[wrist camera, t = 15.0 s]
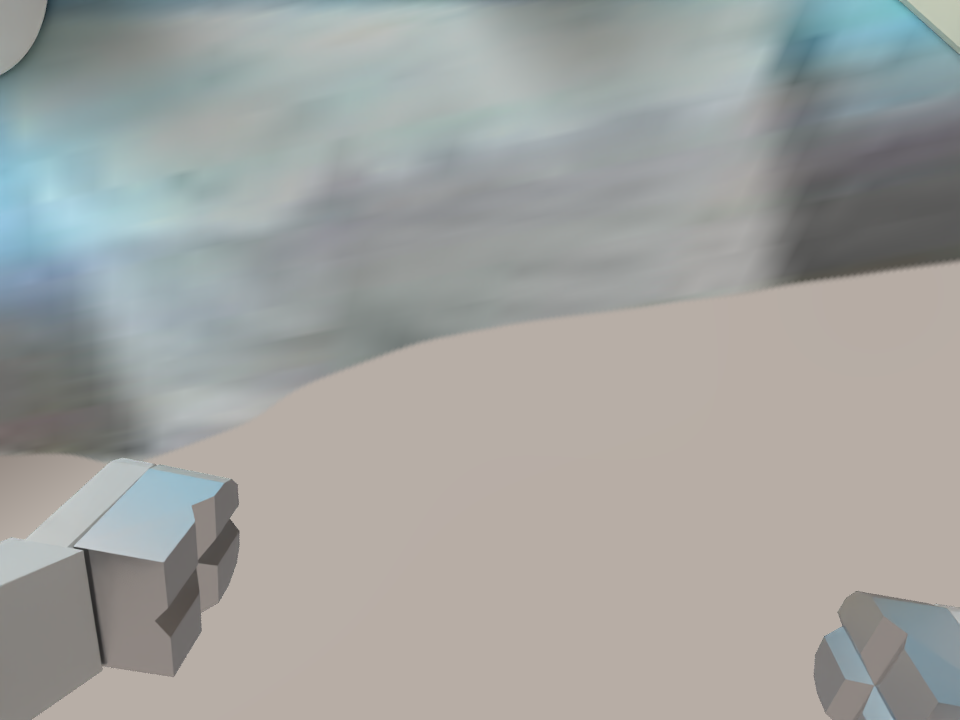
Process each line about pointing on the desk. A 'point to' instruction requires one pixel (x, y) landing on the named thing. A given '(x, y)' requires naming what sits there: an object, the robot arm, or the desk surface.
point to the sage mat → (939, 18)
